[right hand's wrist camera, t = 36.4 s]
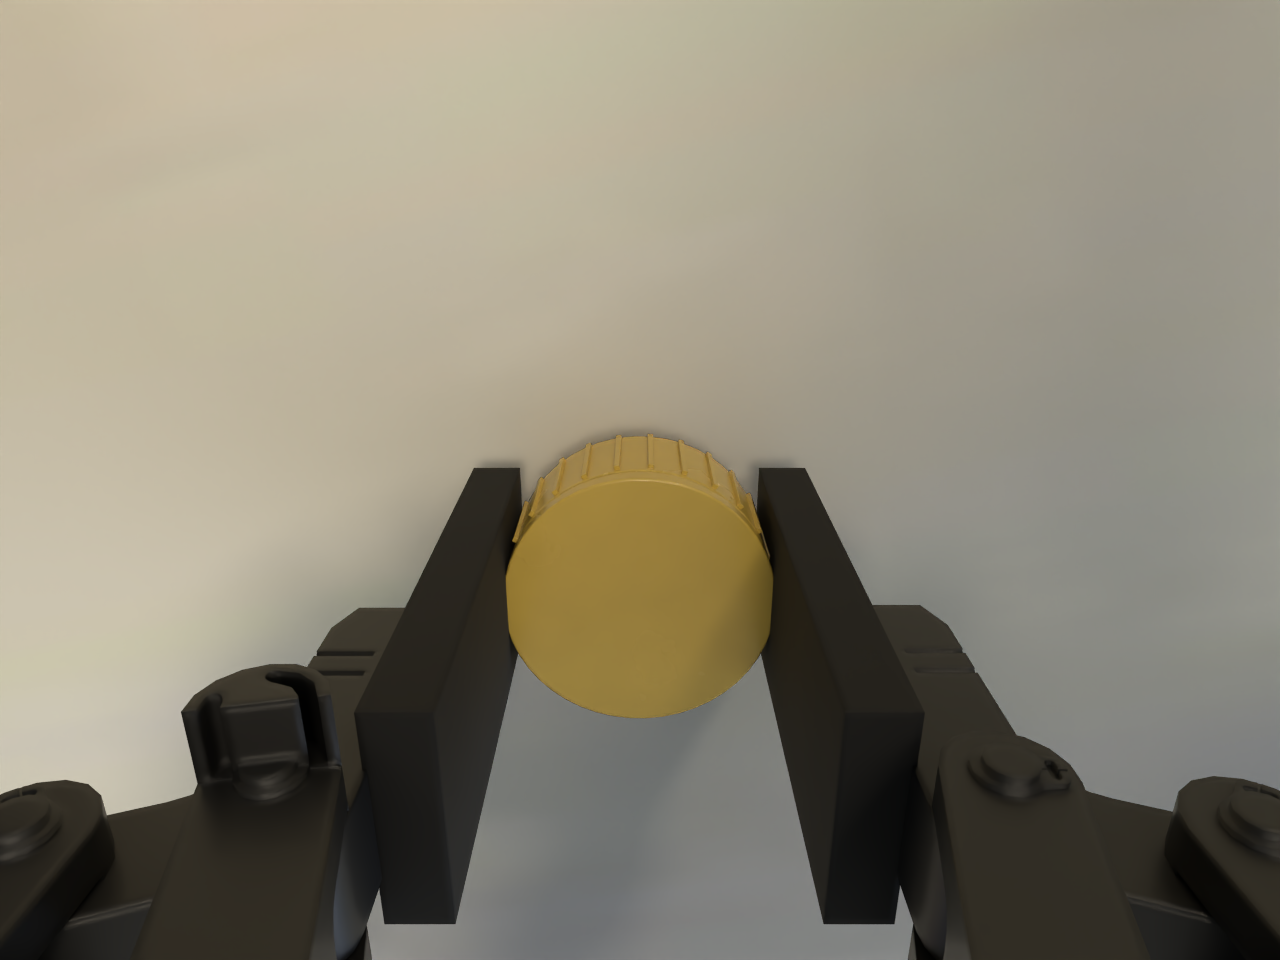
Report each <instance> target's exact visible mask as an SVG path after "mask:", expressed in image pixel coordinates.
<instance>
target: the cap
mask: <svg viewBox="0 0 1280 960" xmlns="http://www.w3.org/2000/svg"><path fill="white" fill-rule="evenodd" d="M512 541H513V542H515V544H514V547H513V550H512V554H511V557H510V560H509V564H508V567H507V571H506V593H507V609H508V625H509V634H510V637H511V640H512V642H513V644H514V646H515V648H516V650H517V651H518V653H519V655H520V657H521V658H522V659H523V661H524V662H525V664H526V665H527V667H528V668H529V669H530V670H531V671H532V672H533V673H534V674H535V676H536V677H537V678H538V679H539V680H540V681H541V682H543V683H544V684H545V685H546V686H547V687H549V688H550V689H551V690H552V691H554V692H555V693H557V694H558V695H560V696H561V697H563V698H565V699H566V700H568V701H570V702H572V703H574V704H576V705H578V706H580V707H583V708H586V709H589V710H592V711H594V712H598V713H602V714H606V715H611V716H617V717H625V718H654V717H663V716H668V715H673V714H678V713H681V712H684V711H687V710H690V709H694V708H696V707H698V706H700V705H703V704H705V703H707V702H709V701H711V700H713V699H714V698H716V697H718V696H719V695H721V694H723V693H724V692H725V691H727V690H728V689H729V688H731V687H732V686H733V685H734V684H736V683H737V682H738V681H739V680H740V679H741V678H742V677H743V676H744V675H745V674H746V673H747V672H748V671H749V669H750V668H751V667H752V665H753V664H754V663H755V661H756V660H757V659H758V657H759V655H760V653H761V652H762V650H763V648H764V646H765V645H766V642H767V640H768V637H769V634H770V624H771V608H772V592H773V570H772V566H771V563H770V555H769V551H768V548H767V545H766V542H765V538H764V535H763V531H762V528H761V525H760V522H759V518H758V515H757V512H756V509H755V505H754V502H753V499H752V496H751V494H750V493H747V494H746V493H745V491H744V489H743V488H742V487H741V485H740V484H739V483H738V481H737V480H736V476H735V473H734V472H733V471H732V470H730V471H729V472H728V471H727V470H726V469H725V468H724V467H723V466H722V465H721V464H719V463H718V462H717V461H715V460H714V459H713V458H712V455H711V454H710V453H709V452H707V453H706V454H704V453H703V452H701V451H699V450H698V449H695V448H693V447H690V446H688V445H685V444H684V441H683V440H678V442H676V441H672V440H669V439H663V438H656V437H653V434H648V435H647V437H643V436H632V437H623V438H622V437H621V435H617V436H616V438H615V439H611V440H607V441H603V442H599V443H597V444H594V445H592V444H591V443H589V444H586V448H584V449H582V450H580V451H578V452H576V453H575V454H573V455H571V456H569V457H568V458H567V459H565V458H564V457H563V458H561V459H560V460H559V464H558V465H557V466H556V467H555V468H554V469H553V470H552V471H551V472H550V473H549V474H548V475H547V476H546V477H545V478H544V479H543V478H542V477H541V478H540V479H539V480H538V483H537V486H536V490H535V492H534V493H533V495H532V497H531V498H530V500H529V502H527V501H525V502H524V504H523V508H522V511H521V514H520V517H519V520H518V524H517V527H516V530H515V533H514V536H513V539H512Z"/></svg>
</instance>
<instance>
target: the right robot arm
mask: <svg viewBox="0 0 1280 960" xmlns="http://www.w3.org/2000/svg"><path fill="white" fill-rule="evenodd" d="M521 511H522V500H521V481H520V468H474V469H473V471H472V473H471V475H470V477H469V479H468V481H467V483H466V485H465V487H464V489H463V491H462V493H461V496H460V498H459V500H458V502H457V504H456V506H455V508H454V510H453V512H452V514H451V516H450V518H449V520H448V522H447V524H446V526H445V528H444V530H443V532H442V534H441V536H440V538H439V540H438V542H437V544H436V546H435V548H434V550H433V553H432V555H431V557H430V559H429V561H428V563H427V565H426V567H425V569H424V571H423V573H422V575H421V577H420V579H419V581H418V583H417V585H416V587H415V589H414V591H413V593H412V595H411V597H410V599H409V601H408V603H407V605H406V607H405V608H358V609H357V610H356V611H354V612H353V613H351V614H350V615H349V616H347V617H346V618H345V619H343V620H342V621H340V622H339V623H338V624H336V625H335V626H334V627H332V628H331V630H330V631H329V633H328V634H327V636H326V638H325V639H324V641H323V642H322V644H321V646H320V647H319V649H318V650H317V656H314V657H313V659H312V660H311V662H310V663H309V665H308V667H304V666H301V665H297V664H269V665H264V666H259V667H254V668H250V669H245V670H241V671H239V672H236V673H234V674H231V675H229V676H226V677H224V678H221V679H219V680H216V681H215V682H213V683H212V684H210V685H209V686H207V687H206V688H204V689H203V690H201V691H200V692H198V693H197V694H195V695H194V696H193V697H192V699H191V700H190V701H189V703H188V704H187V705H186V706H185V708H184V709H183V710H182V711H181V714H182V718H183V723H184V727H185V731H186V735H187V740H188V744H189V748H190V753H191V757H192V761H193V765H194V770H195V774H196V778H197V783H198V784H197V787H196V790H195V792H194V794H192V795H190V796H187V797H183V798H180V799H176V800H173V801H170V802H166V803H161V804H157V805H152V806H148V807H143V808H139V809H134V810H130V811H125V812H120V813H116V814H111V815H106V811H105V808H104V804H103V801H102V797H101V795H100V794H99V793H98V792H97V791H95V790H94V789H93V788H92V787H91V786H90V785H89V784H84V783H79V782H74V781H69V780H61V781H51V782H41V783H35V784H32V785H28V786H24V787H22V788H17V789H14V790H11V791H9V792H5V793H3V794H1V795H0V960H372V956H371V949H370V943H369V936H368V930H367V922H368V919H369V916H370V913H371V910H372V907H373V904H374V901H375V898H376V896H377V893H378V890H379V889H380V896H381V903H382V910H383V917H384V923H385V924H455V923H456V919H457V915H458V910H459V906H460V902H461V897H462V893H463V889H464V884H465V880H466V876H467V871H468V867H469V863H470V858H471V854H472V850H473V845H474V841H475V837H476V833H477V828H478V824H479V820H480V815H481V811H482V807H483V802H484V798H485V794H486V789H487V785H488V781H489V776H490V772H491V768H492V763H493V759H494V755H495V751H496V746H497V742H498V738H499V733H500V729H501V725H502V720H503V716H504V712H505V707H506V703H507V699H508V694H509V690H510V686H511V681H512V677H513V673H514V669H515V664H516V660H517V656H518V651H517V650H516V648H515V646H514V644H513V642H512V640H511V637H510V634H509V625H508V609H507V593H506V571H507V567H508V564H509V560H510V557H511V554H512V550H513V547H514V544H515V542H513V541H512V539H513V536H514V533H515V530H516V527H517V524H518V520H519V517H520V514H521ZM757 515H758V518H759V522H760V525H761V528H762V531H763V535H764V538H765V542H766V545H767V548H768V551H769V555H770V563H771V566H772V570H773V592H772V608H771V624H770V634H769V637H768V640H767V642H766V645H765V646H764V648H763V650H762V652H761V656H762V660H763V664H764V669H765V673H766V677H767V681H768V686H769V690H770V694H771V699H772V703H773V707H774V712H775V716H776V720H777V725H778V729H779V733H780V738H781V742H782V746H783V751H784V755H785V759H786V764H787V768H788V772H789V776H790V781H791V785H792V789H793V794H794V798H795V802H796V807H797V811H798V815H799V820H800V824H801V828H802V833H803V837H804V841H805V846H806V850H807V854H808V859H809V863H810V867H811V872H812V876H813V880H814V884H815V889H816V893H817V897H818V902H819V906H820V910H821V915H822V919H823V923H824V924H894V923H895V916H896V909H897V903H898V896H899V889H900V886H901V889H902V891H903V894H904V897H905V900H906V903H907V906H908V909H909V912H910V915H911V917H912V920H913V923H914V924H913V930H912V936H911V943H910V949H909V956H908V960H1280V791H1279V790H1277V789H1274V788H1271V787H1268V786H1265V785H1263V784H1258V783H1255V782H1251V781H1248V780H1244V779H1237V778H1227V777H1217V776H1212V777H1207V778H1202V779H1197V780H1191V781H1190V782H1189V783H1188V784H1187V785H1186V786H1185V787H1183V788H1182V789H1181V790H1180V791H1179V792H1178V796H1177V799H1176V803H1175V807H1174V810H1173V812H1171V811H1167V810H1162V809H1157V808H1153V807H1148V806H1144V805H1139V804H1134V803H1130V802H1125V801H1121V800H1116V799H1112V798H1108V797H1105V796H1101V795H1098V794H1095V793H1091V792H1088V791H1086V790H1085V788H1084V786H1083V783H1082V781H1081V780H1080V778H1079V777H1078V776H1077V774H1076V773H1075V771H1074V770H1073V768H1072V767H1071V765H1070V764H1069V763H1067V762H1066V761H1065V760H1063V759H1062V758H1061V757H1060V756H1058V755H1057V754H1056V753H1054V752H1053V751H1052V750H1051V749H1049V748H1047V747H1045V746H1042V745H1040V744H1038V743H1036V742H1034V741H1031V740H1029V739H1027V738H1025V737H1021V736H1017V735H1016V733H1015V732H1014V730H1013V729H1012V727H1011V725H1010V724H1009V722H1008V721H1007V719H1006V717H1005V716H1004V714H1003V713H1002V711H1001V709H1000V708H999V706H998V705H997V703H996V701H995V700H994V698H993V697H992V695H991V693H990V692H989V690H988V689H987V687H986V685H985V684H984V682H983V681H982V679H981V677H980V676H979V674H978V673H975V671H974V666H973V665H972V663H971V661H970V660H969V658H968V657H967V655H966V653H963V652H962V647H961V645H960V644H959V642H958V641H957V639H956V637H955V636H954V634H953V633H952V631H951V629H950V628H949V626H948V625H947V624H945V623H944V622H943V621H941V620H940V619H939V618H937V617H936V616H934V615H933V614H932V613H930V612H929V611H927V610H926V609H925V608H923V607H922V606H920V605H872V604H871V602H870V600H869V598H868V595H867V593H866V591H865V589H864V587H863V585H862V583H861V581H860V579H859V577H858V575H857V573H856V571H855V569H854V567H853V565H852V563H851V561H850V559H849V557H848V555H847V553H846V551H845V549H844V547H843V545H842V543H841V540H840V538H839V536H838V534H837V532H836V530H835V528H834V526H833V524H832V522H831V520H830V518H829V516H828V514H827V512H826V510H825V508H824V506H823V504H822V502H821V500H820V498H819V496H818V494H817V492H816V490H815V488H814V485H813V483H812V481H811V479H810V477H809V475H808V473H807V471H806V469H805V468H759V481H758V499H757Z"/></svg>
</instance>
